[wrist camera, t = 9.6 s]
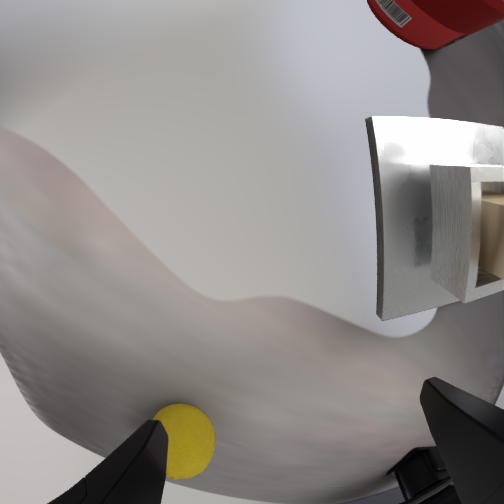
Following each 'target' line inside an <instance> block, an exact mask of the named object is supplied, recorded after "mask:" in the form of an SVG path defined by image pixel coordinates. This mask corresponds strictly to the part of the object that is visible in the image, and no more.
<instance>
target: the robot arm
mask: <svg viewBox="0 0 504 504" xmlns="http://www.w3.org/2000/svg"><path fill="white" fill-rule="evenodd" d="M420 403H421V406H422V409H423V411H424V414H425V417H426V420H427V423H428V426H429V429H430V432H431V434H432V437H433V439H434V441H435V443H436V445H437V447H422V448H416V449H414V450H413V451H412V452H411V453H410V454H409V455H408V456H407V457H406V458H404V459H403V460H402V461H401V462H400V463H399V464H398V465H397V466H396V467H394V468H393V469H392V470H391V471H390V472H389V473H387V476H388V477H394V476H396V479H397V481H398V484H399V486H400V489H401V491H402V494H403V497H404V500H405V502H403V503H399V504H504V410H503V409H501V408H499V407H497V406H495V405H493V404H491V403H488V402H486V401H484V400H482V399H480V398H478V397H476V396H474V395H472V394H469V393H467V392H465V391H463V390H461V389H459V388H457V387H455V386H453V385H451V384H449V383H447V382H445V381H443V380H441V379H439V378H436V377H432V378H429V379H427V380H425V381H424V383H423V387H422V390H421V394H420ZM168 442H169V437H168V434H167V432H166V430H165V428H164V426H163V424H162V422H161V421H160V420H156V419H149V420H147V421H146V422H145V423H144V424H143V425H142V426H140V427H139V428H138V429H137V430H136V431H135V432H134V433H133V434H132V435H131V436H130V437H129V438H128V439H126V440H125V441H124V442H123V443H122V444H121V445H120V446H119V447H118V448H117V449H115V450H114V451H113V452H112V453H111V454H110V455H109V456H108V457H107V458H105V459H104V460H103V461H102V462H101V463H100V464H99V465H97V466H96V467H95V468H94V469H93V470H92V471H91V472H89V473H88V474H87V475H86V476H85V478H82V479H81V480H80V481H79V482H78V483H76V484H75V485H74V486H73V487H71V488H70V489H69V490H67V491H66V492H65V493H63V494H62V495H60V496H59V497H57V498H56V499H54V500H52V501H51V502H49V503H47V504H161V499H162V494H163V488H164V484H165V478H166V470H167V455H168Z"/></svg>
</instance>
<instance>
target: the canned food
mask: <svg viewBox="0 0 504 504" xmlns="http://www.w3.org/2000/svg"><path fill="white" fill-rule="evenodd" d="M367 3H368V5H369V7H370V9H371V11H372V12H373V13H374V15H375V17H376V18H377V19H378V20H379V21H380V22H381V24H383V26H385V27H386V28H387V29H388V30H389V31H390V32H391V33H393V34H394V35H395V36H396V37H398V38H400V39H401V40H403V41H404V42H406V43H408V44H411V45H413V46H415V47H418V48H422V49H442V48H444V47H447V46H449V45H451V44H453V43H455V42H457V41H459V40H461V39H463V38H465V37H467V36H469V35H471V34H473V33H475V32H477V31H479V30H482V29H484V28H486V27H488V26H491V25H493V24H495V23H497V22H500V21H502V20H504V0H367Z"/></svg>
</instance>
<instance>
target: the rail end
mask: <svg viewBox="0 0 504 504" xmlns="http://www.w3.org/2000/svg"><path fill="white" fill-rule="evenodd" d="M478 266H479V267H481V268H483V269H485V270H487V271H488V272H490V273H492V274H494V275H496V276H497V277H499V278H501V279H503V280H504V194H500V193H495V192H488V193H481V237H480V252H479V263H478Z"/></svg>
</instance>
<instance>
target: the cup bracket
mask: <svg viewBox="0 0 504 504" xmlns="http://www.w3.org/2000/svg"><path fill="white" fill-rule="evenodd" d="M365 121H366V127H367V134H368V141H369V148H370V156H371V165H372V174H373V183H374V196H375V209H376V229H377V311H376V314H377V315H378V316H379V317H380V319H381V320H382V321H385V320H389V319H393V318H398V317H402V316H405V315H409V314H414V313H417V312H421V311H425V310H429V309H432V308H436V307H440V306H443V305H447V304H450V303H453V302H457V301H462V302H463V303H467V302H470V301H473V300H476V299H479V298H482V297H485V296H488V295H491V294H493V293H496V292H499V291H502V290H504V280H503V279H501V278H499V277H497V276H496V275H494V274H492V273H490V272H488V271H487V270H485V269H483V268H481V267H479V266H478V263H479V252H480V237H481V193H488V192H495V193H500V194H504V127H498V126H492V125H486V124H479V123H472V122H464V121H455V120H445V119H433V118H417V117H391V116H389V117H388V116H372V117H369V118H367V119H365Z"/></svg>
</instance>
